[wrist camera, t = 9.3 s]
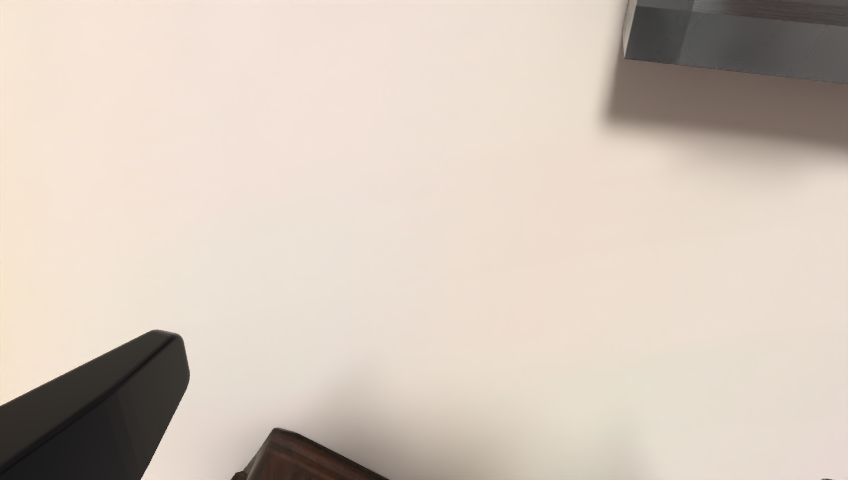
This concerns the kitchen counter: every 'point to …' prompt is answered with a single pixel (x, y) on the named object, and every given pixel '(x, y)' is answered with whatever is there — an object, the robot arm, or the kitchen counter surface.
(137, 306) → the kitchen counter surface
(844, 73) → the shallow metal tray
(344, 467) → the dark brown boxy piece
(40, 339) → the kitchen counter surface
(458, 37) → the kitchen counter surface
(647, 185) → the kitchen counter surface
